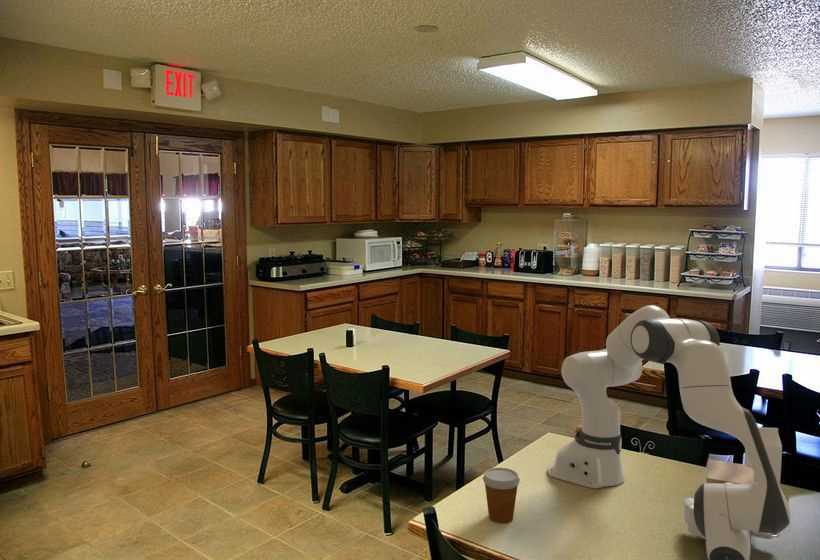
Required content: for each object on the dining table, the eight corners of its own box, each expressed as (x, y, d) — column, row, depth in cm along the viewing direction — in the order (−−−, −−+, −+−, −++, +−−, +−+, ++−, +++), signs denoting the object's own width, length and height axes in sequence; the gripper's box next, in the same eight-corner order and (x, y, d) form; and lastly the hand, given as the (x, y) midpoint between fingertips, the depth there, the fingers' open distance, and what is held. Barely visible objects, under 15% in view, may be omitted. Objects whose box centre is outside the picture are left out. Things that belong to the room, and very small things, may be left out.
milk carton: (779, 498, 171) (783, 432, 169) (751, 496, 173) (754, 431, 171) (769, 487, 178) (773, 424, 176) (743, 485, 180) (746, 422, 178)
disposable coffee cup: (496, 530, 155) (497, 484, 154) (475, 514, 164) (475, 471, 162) (526, 521, 160) (527, 477, 158) (504, 506, 168) (505, 464, 167)
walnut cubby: (705, 514, 162) (706, 477, 161) (707, 493, 175) (708, 459, 174) (752, 524, 157) (754, 486, 156) (751, 501, 170) (753, 466, 169)
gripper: (780, 525, 139) (777, 500, 151) (682, 506, 148) (686, 483, 160) (779, 552, 139) (775, 524, 151) (681, 530, 149) (685, 506, 161)
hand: (728, 503), depth 156 cm, fingers open, 8 cm apart
